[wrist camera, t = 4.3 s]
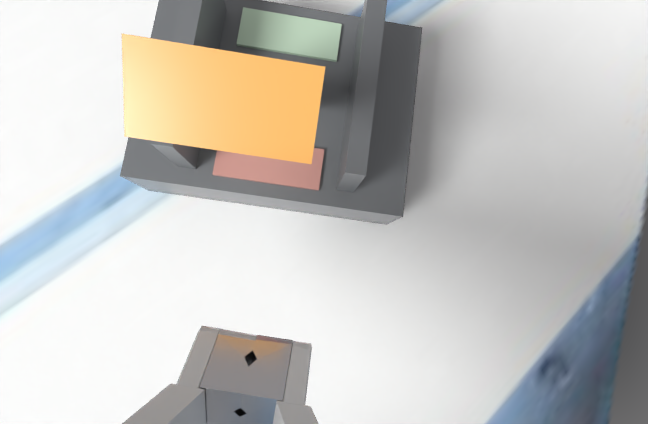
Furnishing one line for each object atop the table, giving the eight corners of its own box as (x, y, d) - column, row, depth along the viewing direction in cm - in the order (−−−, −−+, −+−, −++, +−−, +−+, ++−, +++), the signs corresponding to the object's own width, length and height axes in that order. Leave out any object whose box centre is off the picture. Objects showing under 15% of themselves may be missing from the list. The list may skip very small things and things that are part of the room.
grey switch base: (386, 224, 25) (426, 205, 18) (148, 190, 25) (78, 154, 17) (404, 62, 27) (447, -21, 19) (182, 25, 26) (134, -77, 19)
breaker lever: (318, 116, 22) (311, 164, 10) (237, 104, 22) (124, 136, 10) (324, 74, 21) (325, 66, 9) (240, 60, 21) (121, 33, 9)
